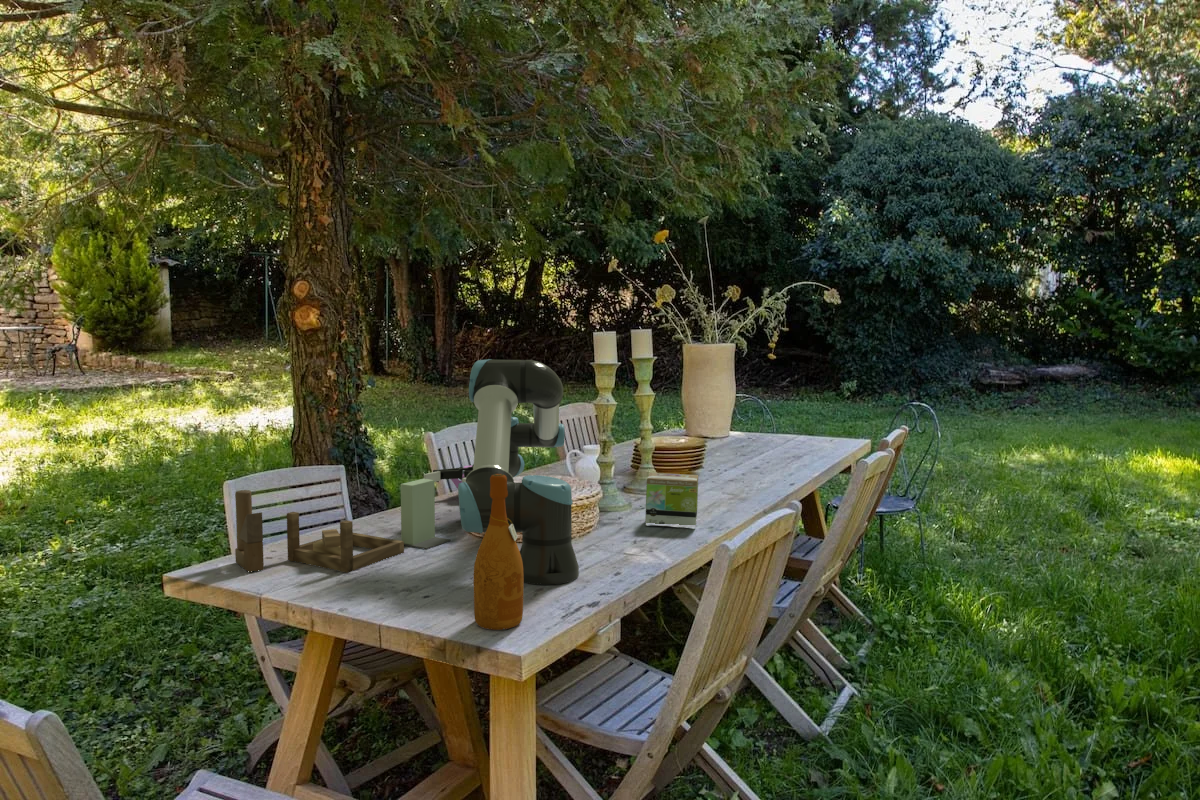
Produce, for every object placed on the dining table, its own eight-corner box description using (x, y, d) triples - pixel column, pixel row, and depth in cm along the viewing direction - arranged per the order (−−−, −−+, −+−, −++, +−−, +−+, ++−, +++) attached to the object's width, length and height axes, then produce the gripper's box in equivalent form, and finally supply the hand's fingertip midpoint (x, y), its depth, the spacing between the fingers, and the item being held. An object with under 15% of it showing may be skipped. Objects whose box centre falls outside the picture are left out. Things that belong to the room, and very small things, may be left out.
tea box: (644, 527, 240) (645, 477, 239) (648, 519, 250) (649, 471, 249) (696, 529, 238) (697, 479, 237) (697, 521, 248) (698, 473, 247)
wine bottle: (496, 636, 155) (496, 481, 153) (463, 623, 162) (462, 474, 159) (533, 622, 163) (534, 474, 160) (500, 610, 169) (500, 467, 167)
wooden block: (248, 573, 193) (246, 498, 191) (235, 562, 201) (232, 490, 199) (264, 570, 195) (262, 496, 193) (250, 560, 203) (248, 489, 202)
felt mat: (450, 540, 223) (450, 539, 223) (426, 549, 214) (426, 548, 214) (410, 534, 230) (410, 532, 230) (385, 542, 221) (385, 540, 221)
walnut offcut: (340, 546, 199) (340, 535, 199) (325, 547, 198) (325, 537, 198) (336, 539, 206) (336, 529, 205) (322, 540, 204) (321, 530, 204)
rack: (404, 552, 211) (403, 507, 210) (347, 572, 194) (346, 523, 193) (347, 542, 220) (346, 498, 219) (287, 560, 203) (286, 513, 202)
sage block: (434, 537, 225) (434, 480, 223) (412, 544, 217) (412, 485, 216) (423, 535, 227) (423, 478, 225) (401, 542, 219) (400, 484, 217)
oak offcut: (349, 553, 202) (349, 543, 202) (340, 557, 199) (340, 546, 199) (322, 550, 205) (322, 539, 205) (313, 553, 202) (313, 543, 202)
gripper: (522, 486, 243) (479, 498, 225) (455, 479, 255) (409, 490, 236) (522, 461, 243) (479, 471, 224) (455, 455, 254) (409, 464, 236)
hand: (443, 481), depth 230 cm, fingers open, 13 cm apart
